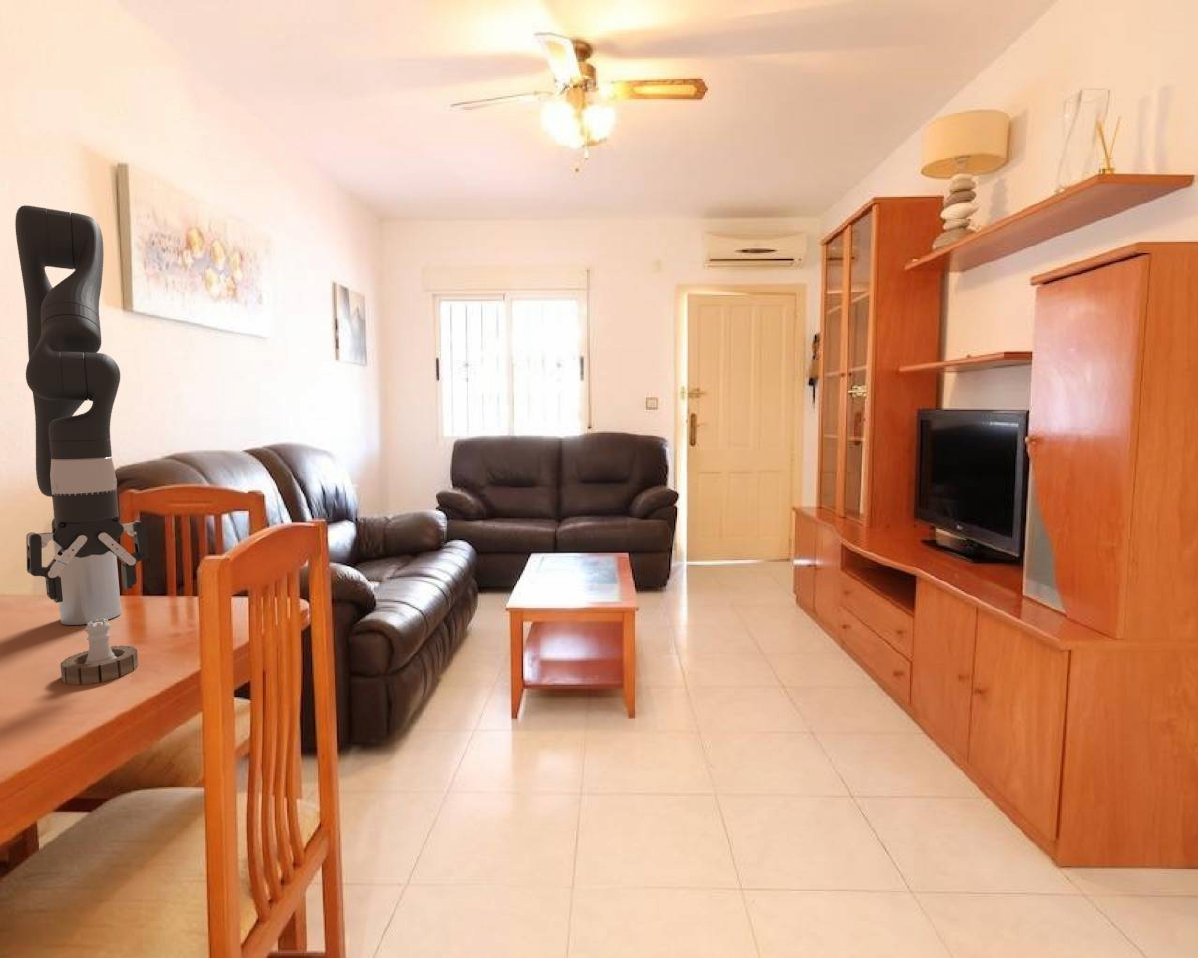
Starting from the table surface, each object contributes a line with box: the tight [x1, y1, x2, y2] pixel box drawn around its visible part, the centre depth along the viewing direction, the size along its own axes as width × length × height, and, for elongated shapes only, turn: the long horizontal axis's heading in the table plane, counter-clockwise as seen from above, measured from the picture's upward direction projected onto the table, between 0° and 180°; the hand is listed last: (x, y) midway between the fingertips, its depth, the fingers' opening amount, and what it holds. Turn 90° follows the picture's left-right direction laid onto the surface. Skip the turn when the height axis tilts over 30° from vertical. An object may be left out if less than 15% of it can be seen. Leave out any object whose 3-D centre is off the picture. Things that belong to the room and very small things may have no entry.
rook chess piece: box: [83, 619, 117, 664], centre depth 98 cm, size 4×4×8 cm
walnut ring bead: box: [60, 645, 139, 686], centre depth 98 cm, size 9×9×2 cm
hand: (94, 594), depth 97 cm, fingers open, 8 cm apart
